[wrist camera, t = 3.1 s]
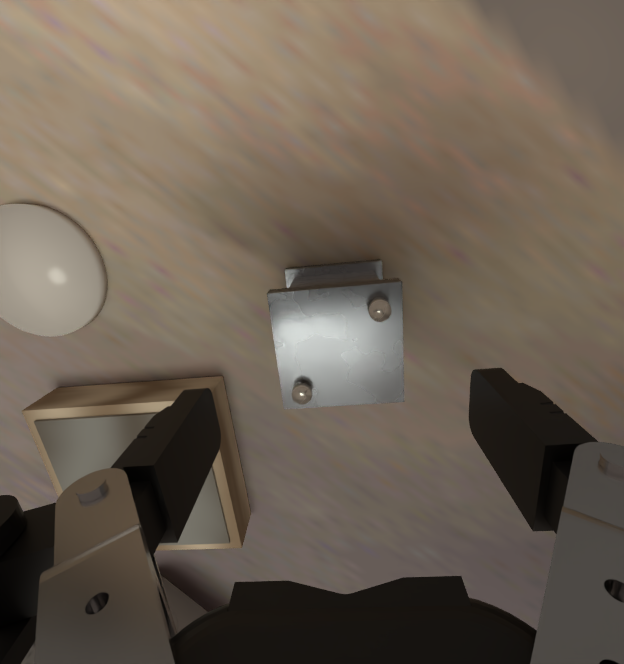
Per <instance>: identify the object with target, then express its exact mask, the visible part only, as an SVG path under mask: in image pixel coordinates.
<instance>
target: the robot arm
mask: <svg viewBox="0 0 624 664" xmlns="http://www.w3.org/2000/svg"><path fill="white" fill-rule="evenodd" d="M469 424H470V428H471V432H472V434H473V436H474V438H475V440H476V441H477V443H478V444H479V446H480V448H481V449H482V451H483V452H484V454H485V456H486V457H487V459H488V460H489V462H490V464H491V465H492V467H493V468H494V470H495V471H496V473H497V475H498V476H499V478H500V479H501V481H502V483H503V484H504V486H505V487H506V489H507V491H508V492H509V494H510V495H511V497H512V499H513V500H514V502H515V503H516V505H517V507H518V508H519V510H520V511H521V513H522V514H523V516H524V518H525V519H526V521H527V522H528V524H529V526H530V527H531V529H532V530H533V531H554V532H555V533H556V534H557V535H556V540H555V545H554V550H553V555H552V560H551V565H550V569H549V574H548V579H547V584H546V589H545V594H544V599H543V604H542V609H541V613H540V618H539V623H538V628H537V631H536V630H535V629H534V628H532V627H531V626H529V625H528V624H527V623H525V622H523V621H522V620H520V619H518V618H517V617H515V616H513V615H512V614H510V613H508V612H506V611H504V610H502V609H499V608H497V607H495V606H493V605H490V604H488V603H485V602H482V601H479V600H476V599H472V598H469V597H468V594H467V591H466V589H465V586H464V583H463V580H462V577H461V576H444V577H407V578H400V579H397V580H394V581H391V582H387V583H384V584H381V585H378V586H374V587H371V588H368V589H365V590H361V591H358V592H355V593H351V594H339V593H335V592H331V591H327V590H323V589H319V588H315V587H311V586H307V585H303V584H299V583H295V582H291V581H261V582H235V584H234V588H233V592H232V596H231V600H230V603H229V604H226V605H223V606H221V607H218V608H216V609H214V610H212V611H209V612H208V613H206V614H204V615H202V616H201V617H199V618H197V619H196V620H194V621H193V622H191V623H190V624H189V625H187V626H186V627H184V628H183V629H182V630H181V631H179V632H178V633H177V630H176V626H175V623H174V620H173V616H172V613H171V609H170V606H169V602H168V599H167V596H166V592H165V589H164V585H163V582H162V578H161V575H160V571H159V568H158V564H157V561H156V558H155V555H154V553H155V551H156V549H157V547H158V545H159V543H178V541H179V539H180V536H181V534H182V532H183V530H184V527H185V525H186V523H187V521H188V519H189V516H190V514H191V512H192V510H193V507H194V505H195V503H196V501H197V498H198V496H199V494H200V492H201V490H202V487H203V485H204V483H205V481H206V478H207V476H208V474H209V472H210V469H211V467H212V465H213V463H214V461H215V458H216V456H217V454H218V452H219V449H220V444H221V430H220V426H219V421H218V417H217V412H216V408H215V403H214V399H213V395H212V392H211V390H210V389H209V388H200V389H186V390H183V391H182V393H181V394H180V395H179V396H178V398H177V399H176V400H175V401H174V403H173V404H172V405H171V406H167V407H166V408H164V409H163V410H162V411H160V412H159V413H157V414H156V415H154V416H153V417H152V418H151V420H150V421H149V422H148V423H147V424H146V426H145V427H144V429H142V430H141V432H140V433H139V434H138V435H137V438H136V439H134V440H133V441H132V442H131V444H130V445H129V446H128V447H127V448H126V450H125V451H124V452H123V453H122V454H121V456H120V457H119V458H118V459H117V460H116V462H115V463H114V464H113V465H112V466H111V468H107V469H102V470H98V471H95V472H92V473H90V474H88V475H85V476H84V477H82V478H80V479H78V480H77V481H75V482H74V483H72V484H71V485H70V486H68V487H67V488H66V489H65V490H64V491H63V492H62V494H61V495H60V496H59V498H58V499H57V502H56V503H53V504H49V505H46V506H42V507H38V508H35V509H31V510H28V511H24V512H23V510H22V508H21V506H20V504H19V502H18V500H17V499H16V498H15V497H14V496H11V495H1V496H0V664H21V663H22V661H23V660H24V658H25V656H26V655H27V653H28V652H29V650H30V648H31V647H32V645H33V644H34V642H35V655H34V664H624V447H623V446H620V445H616V444H612V443H605V442H598V441H597V440H596V439H595V438H594V437H592V436H591V435H590V434H589V433H588V432H587V431H586V430H584V429H583V428H582V427H581V426H580V425H579V424H578V423H576V422H575V421H574V420H573V419H572V418H571V417H570V416H568V415H567V414H564V412H563V410H562V409H560V408H559V407H558V406H557V405H556V404H553V402H552V401H551V400H550V399H549V398H548V397H547V396H546V395H544V394H543V393H542V392H541V391H539V390H537V389H535V388H533V387H531V386H528V385H526V384H524V383H518V382H517V381H515V380H514V379H513V378H512V377H511V376H510V375H509V374H508V373H507V372H506V371H505V370H504V369H502V368H491V369H477V370H473V372H472V374H471V383H470V402H469Z"/></svg>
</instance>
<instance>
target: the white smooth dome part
mask: <svg viewBox="0 0 624 664" xmlns="http://www.w3.org/2000/svg"><path fill="white" fill-rule="evenodd" d="M106 295H107V274H106V269H105V265H104V262H103V260H102V257H101V255H100V253H99V251H98V249H97V247H96V246H95V244H94V242H93V241H92V240H91V238H90V237H89V236H88V235H87V233H86V232H85V231H84V230H83V229H82V228H81V227H80V226H79V225H78V224H76V223H75V222H74V221H73V220H71V219H70V218H68V217H67V216H65V215H64V214H62V213H60V212H58V211H56V210H54V209H51V208H48V207H45V206H41V205H34V204H6V205H1V206H0V317H1V318H2V319H4V320H5V321H6V322H8V323H9V324H11V325H13V326H14V327H16V328H18V329H20V330H23V331H25V332H28V333H31V334H35V335H39V336H48V337H49V336H61V335H66V334H69V333H71V332H74V331H76V330H78V329H80V328H82V327H84V326H86V325H87V324H89V323H90V322H92V321H93V320H94V319H95V318H96V317H97V315H98V314H99V313H100V311H101V309H102V307H103V305H104V303H105V299H106Z"/></svg>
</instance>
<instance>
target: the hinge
mask: <svg viewBox="0 0 624 664" xmlns="http://www.w3.org/2000/svg"><path fill="white" fill-rule="evenodd" d="M161 578H162V582H163V585H164V589H165V592H166V596H167V599H168V602H169V606H170V609H171V613H172V616H173V620H174V623H175V626H176V630H177V633H178V632H179V631H181V630H182V629H183V628H184V627H186V626H187V625H189V624H190V623H191V622H193V621H194V620H196V619H197V618H199V617H201V616H202V615H204V614H206V613H208V612H207V611H206V610H205V609H204V608H202V607H201V606H200V605H198V604H197V603H196V602H195V601H193V600H192V599H191V598H190V597H188V596H187V595H186V594H184V593H183V592H182V591H181V590H179V589H178V588H177V587H176V586H174V585H173V584H172V583H170V582H169V581H168V580H167V579H165V578H164V577H163V576H162V575H161Z"/></svg>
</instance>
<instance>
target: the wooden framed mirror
mask: <svg viewBox="0 0 624 664" xmlns="http://www.w3.org/2000/svg"><path fill="white" fill-rule="evenodd" d="M200 388H209V389H210V390H211V392H212V395H213V399H214V403H215V408H216V412H217V417H218V421H219V426H220V430H221V444H220V449H219V452H218V454H217V456H216V458H215V461H214V463H213V465H212V467H211V469H210V472H209V474H208V476H207V478H206V481H205V483H204V485H203V487H202V490H201V492H200V494H199V496H198V498H197V501H196V503H195V505H194V507H193V510H192V512H191V514H190V516H189V519H188V521H187V523H186V525H185V527H184V530H183V532H182V534H181V536H180V539H179V541H178V543H159V545H158V547H157V549H156V550H188V549H222V548H242V545H243V542H244V538H245V534H246V530H247V526H248V523H249V519H250V515H251V511H250V506H249V501H248V496H247V491H246V486H245V482H244V477H243V472H242V467H241V462H240V457H239V452H238V447H237V443H236V438H235V433H234V428H233V423H232V418H231V413H230V408H229V404H228V399H227V394H226V389H225V384H224V379H223V376H216V377H202V378H188V379H174V380H160V381H146V382H131V383H117V384H103V385H89V386H75V387H61V388H56V389H55V390H53V391H51V392H50V393H48V394H47V395H45V396H44V397H42V398H41V399H39V400H38V401H36V402H35V403H33V404H32V405H30V406H28V407H27V408H25V409H24V410H22V413H23V415H24V417H25V420H26V422H27V424H28V427H29V429H30V431H31V434H32V436H33V438H34V441H35V443H36V445H37V448H38V450H39V452H40V455H41V457H42V460H43V462H44V464H45V467H46V469H47V471H48V474H49V476H50V478H51V481H52V483H53V485H54V488H55V490H56V492H57V495H58V497H59V496H60V495H61V494H62V492H63V491H64V490H65V489H66V488H67V487H68V486H70V485H71V484H72V483H74V482H75V481H77V480H78V479H80V478H82V477H84V476H85V475H88V474H90V473H92V472H95V471H98V470H102V469H107V468H111V466H112V465H113V464H114V463H115V462H116V460H117V459H118V458H119V457H120V456H121V454H122V453H123V452H124V451H125V450H126V448H127V447H128V446H129V445H130V444H131V442H132V441H133V440H134V439H136V438H137V435H138V434H139V433H140V432H141V430H142V429H144V427H145V426H146V424H147V423H148V422H149V421H150V420H151V418H152V417H153V416H154V415H156V414H157V413H159V412H160V411H162V410H163V409H164V408H166V407H167V406H171V405H172V404H173V403H174V401H175V400H176V399H177V398H178V396H179V395H180V394H181V393H182V391H183V390H186V389H200Z"/></svg>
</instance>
